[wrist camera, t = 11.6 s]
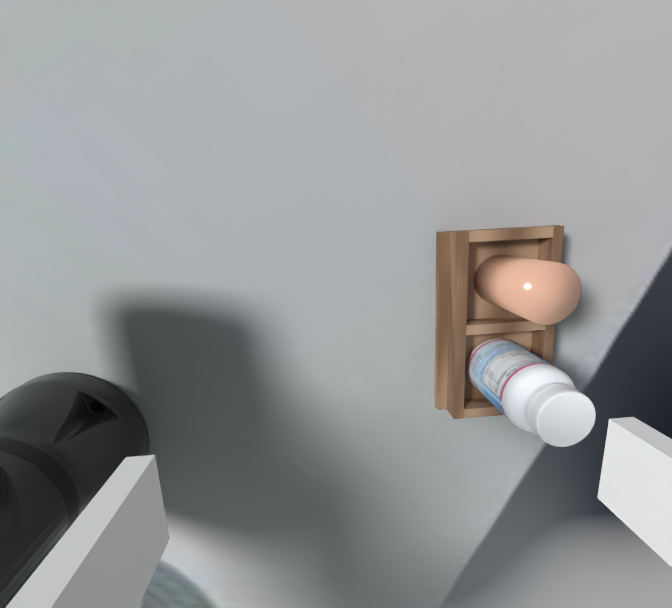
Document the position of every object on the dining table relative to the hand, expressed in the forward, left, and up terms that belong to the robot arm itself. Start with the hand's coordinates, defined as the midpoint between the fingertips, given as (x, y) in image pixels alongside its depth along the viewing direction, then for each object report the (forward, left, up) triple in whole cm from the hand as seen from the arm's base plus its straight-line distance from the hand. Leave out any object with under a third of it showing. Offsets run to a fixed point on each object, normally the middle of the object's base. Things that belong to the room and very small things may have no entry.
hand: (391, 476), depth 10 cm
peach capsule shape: (+16, +1, -25) cm, 30 cm away
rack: (+16, -3, -26) cm, 31 cm away
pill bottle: (+16, -8, -25) cm, 31 cm away
